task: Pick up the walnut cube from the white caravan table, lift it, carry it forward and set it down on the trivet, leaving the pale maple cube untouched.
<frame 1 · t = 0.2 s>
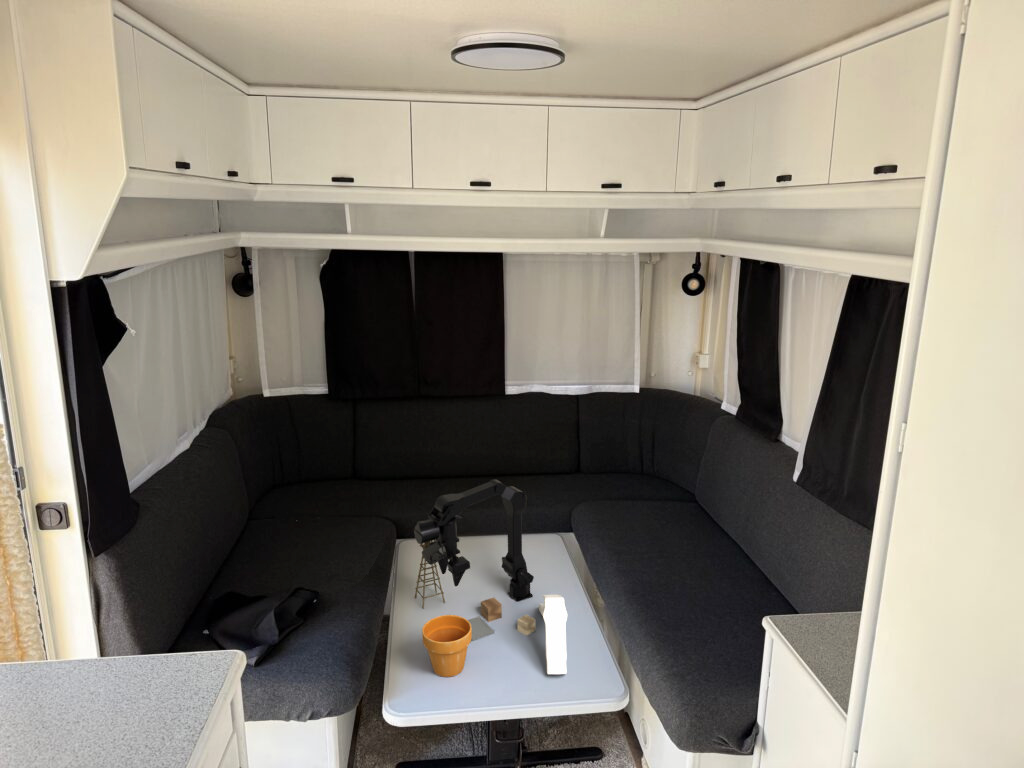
hand: (449, 579, 224), 14 cm above the table, fingers open, 9 cm apart
miniature windmill: (429, 600, 239), on the table
white elongated block: (552, 643, 214), on the table
walnut cube: (491, 616, 228), on the table
trivet: (475, 629, 221), on the table
maple cube: (526, 630, 220), on the table
flower pot: (448, 668, 202), on the table
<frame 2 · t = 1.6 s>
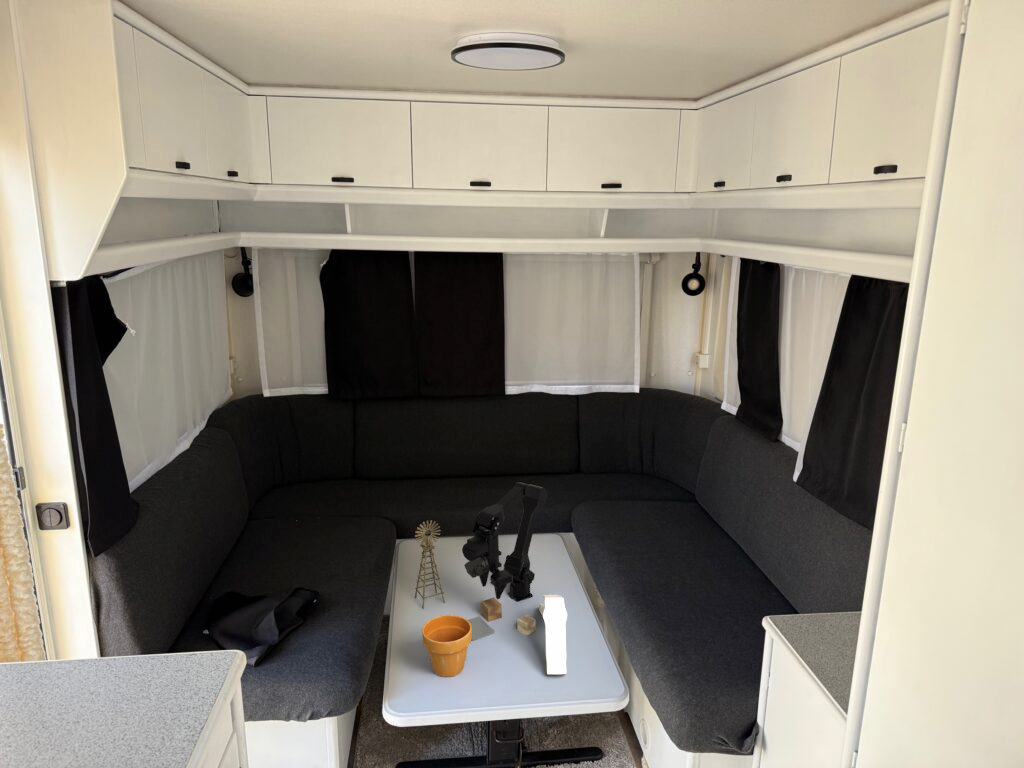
hand: (490, 592, 227), 9 cm above the table, fingers open, 9 cm apart
nothing on the table moved.
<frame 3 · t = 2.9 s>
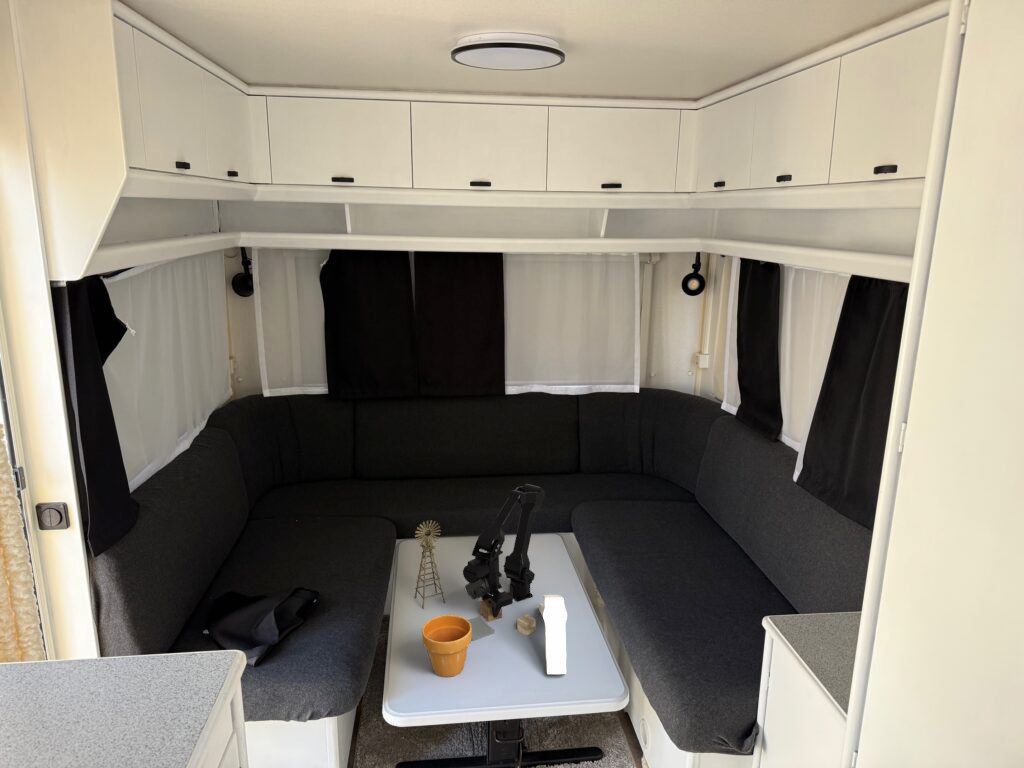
hand: (491, 613, 228), 1 cm above the table, fingers closed on walnut cube, 5 cm apart
walnut cube: (491, 616, 228), on the table, touching gripper
everything else where it was.
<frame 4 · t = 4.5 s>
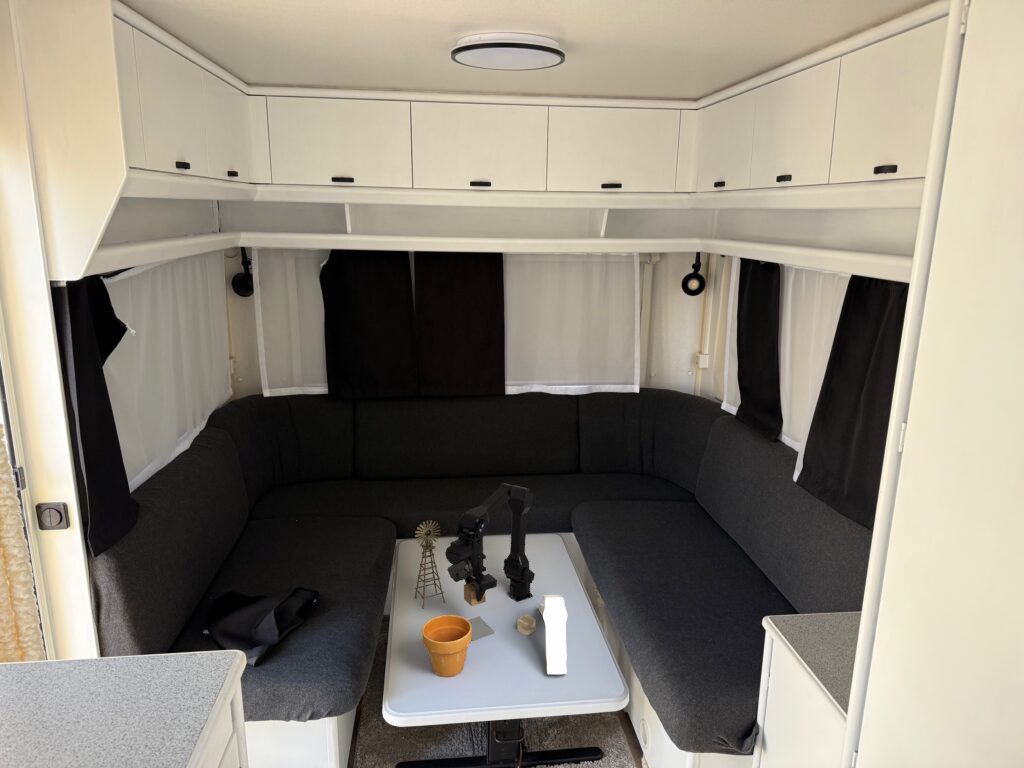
hand: (474, 597, 219), 11 cm above the table, fingers closed on walnut cube, 5 cm apart
walnut cube: (474, 600, 219), point 10 cm above the table, touching gripper
everything else where it was.
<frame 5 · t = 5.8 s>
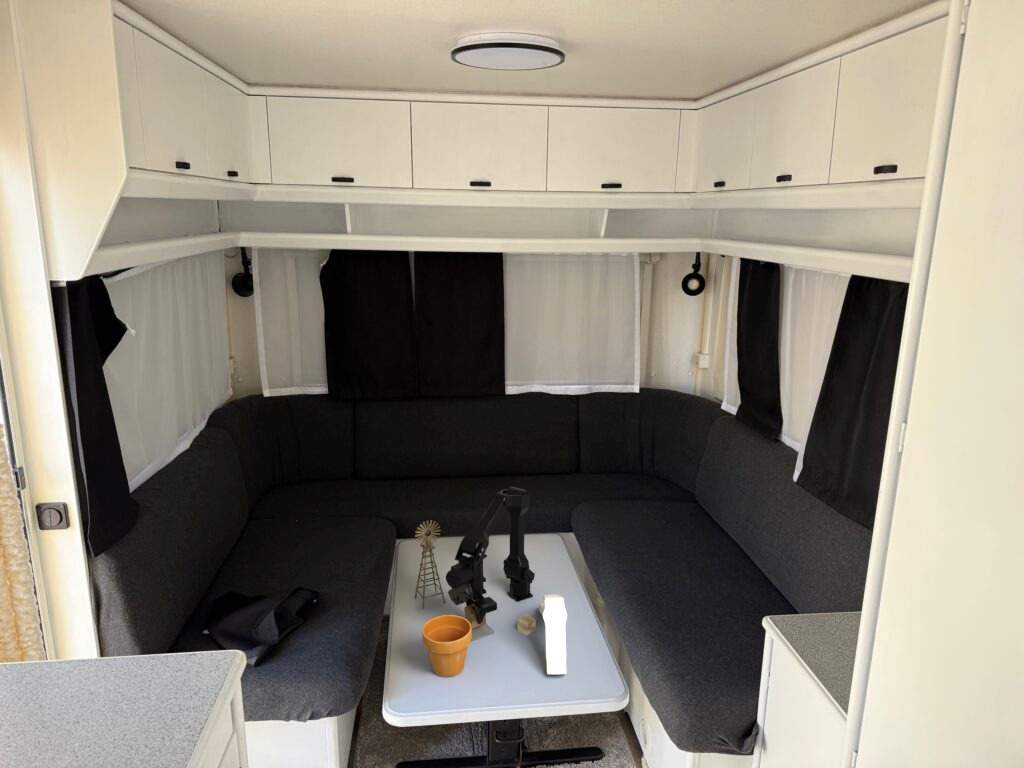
hand: (475, 619, 220), 4 cm above the table, fingers closed on walnut cube, 5 cm apart
walnut cube: (475, 622, 221), point 3 cm above the table, touching gripper
everything else where it was.
when the fingers open (3 cm above the table, at t = 6.4 s): walnut cube stays where it is, resting on trivet.
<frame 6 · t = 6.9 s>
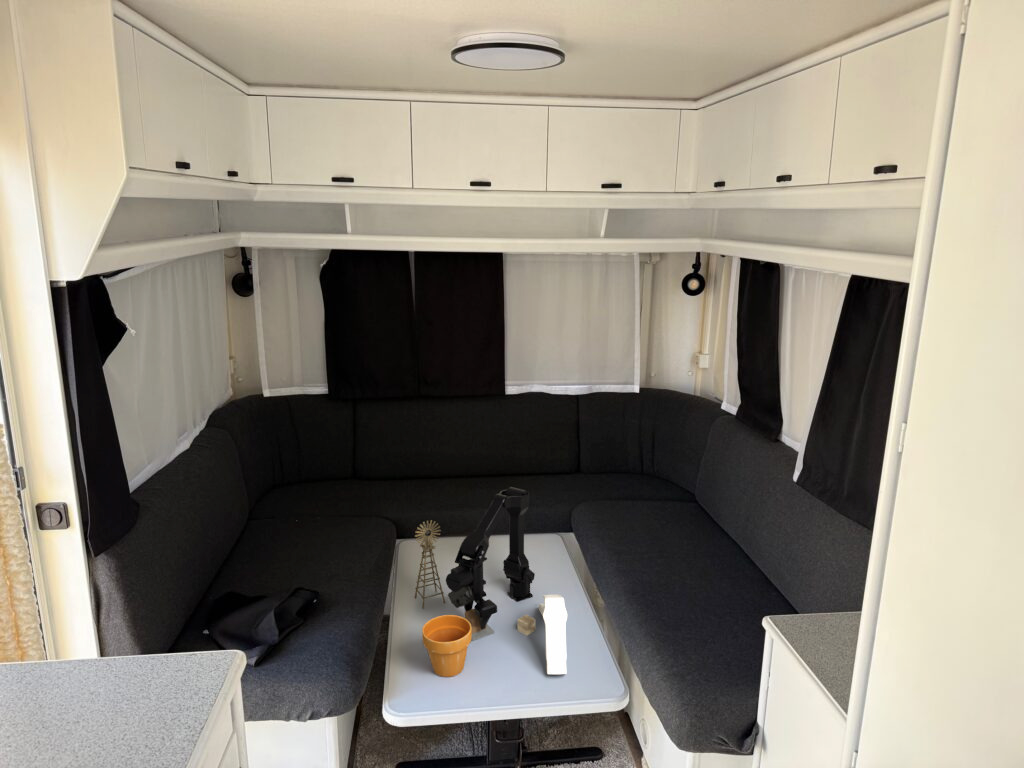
hand: (475, 622, 221), 3 cm above the table, fingers open, 9 cm apart
walnut cube: (475, 627, 221), point 1 cm above the table, touching trivet
everything else where it was.
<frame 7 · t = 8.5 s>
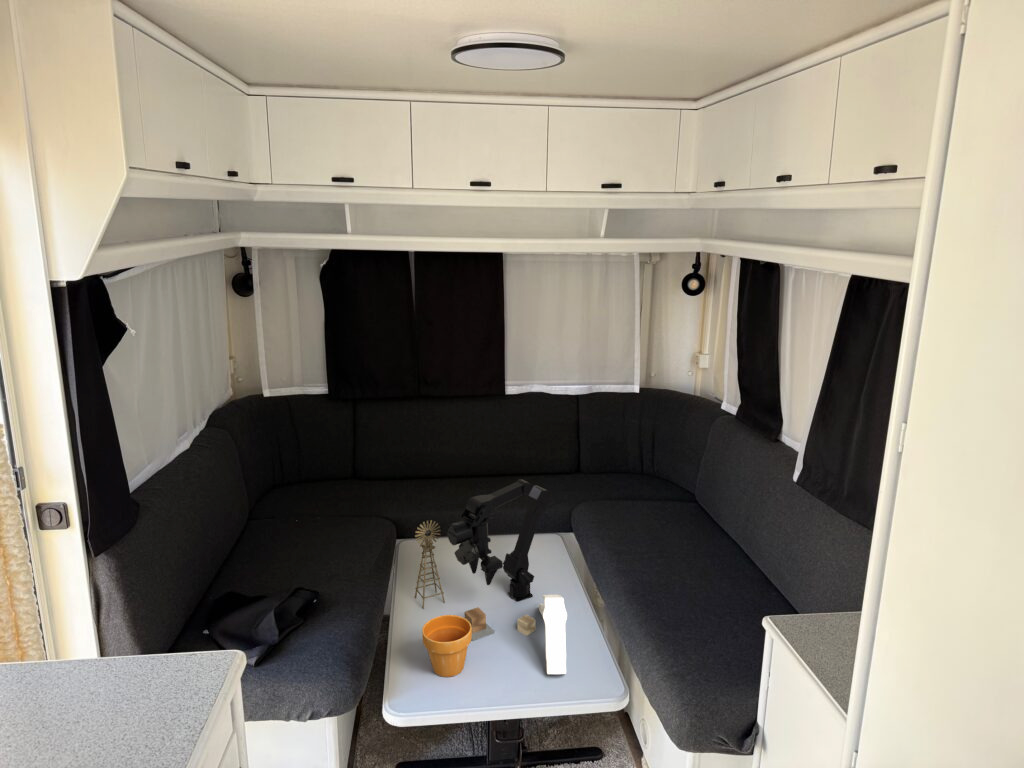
hand: (481, 578, 229), 12 cm above the table, fingers open, 9 cm apart
nothing on the table moved.
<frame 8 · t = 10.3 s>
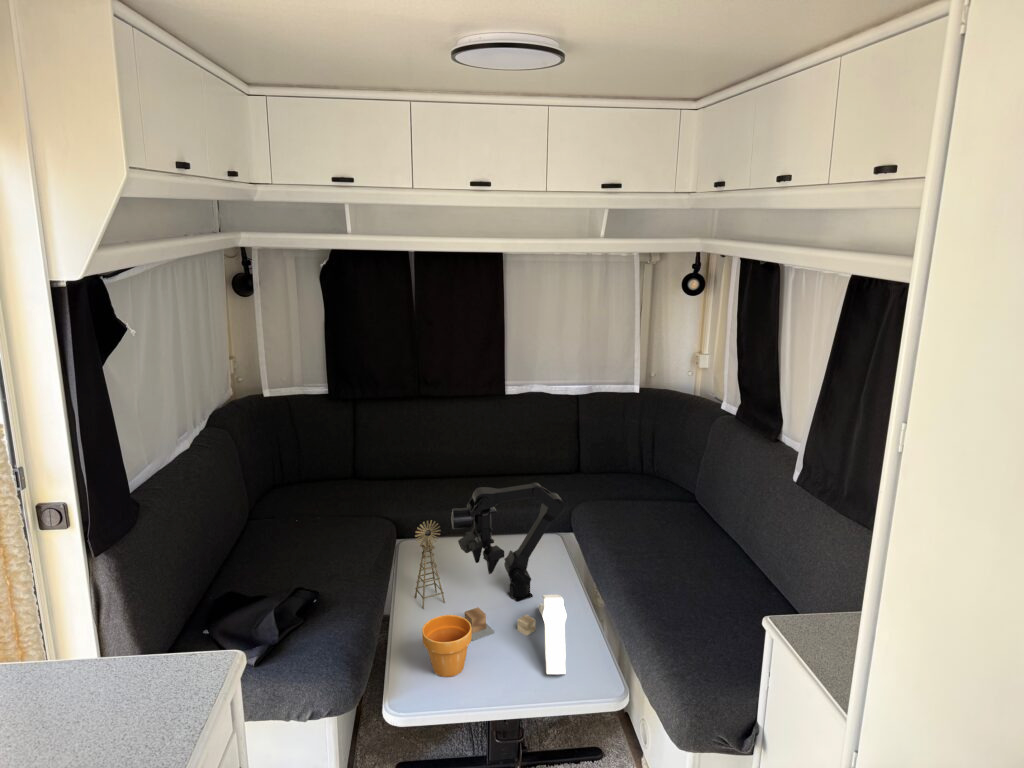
hand: (483, 568, 236), 12 cm above the table, fingers open, 9 cm apart
nothing on the table moved.
at the end: walnut cube inside the target area on the trivet (0.0 cm from its centre), point 0.8 cm above the trivet's base; walnut cube tilted 0°; the gripper is holding nothing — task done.
